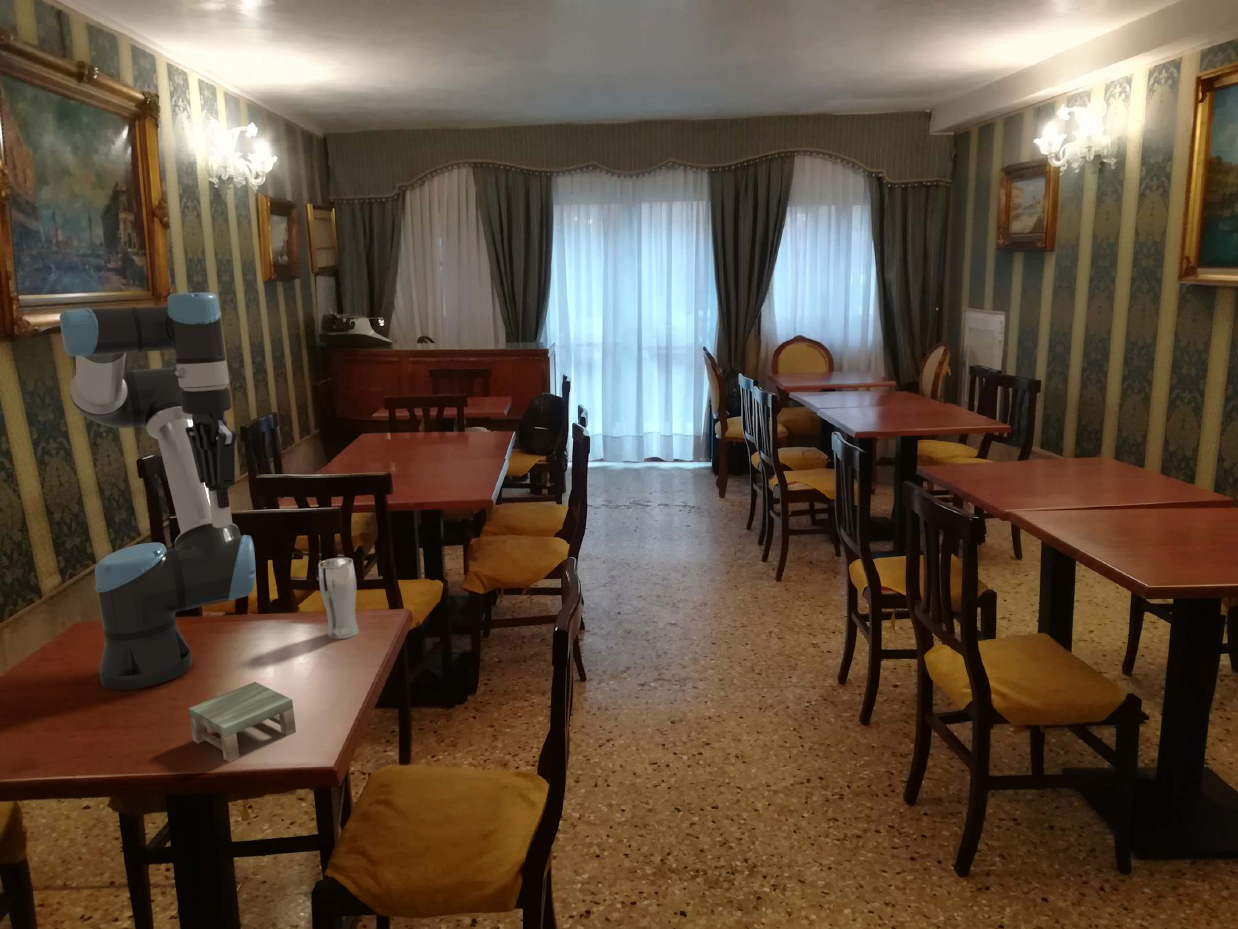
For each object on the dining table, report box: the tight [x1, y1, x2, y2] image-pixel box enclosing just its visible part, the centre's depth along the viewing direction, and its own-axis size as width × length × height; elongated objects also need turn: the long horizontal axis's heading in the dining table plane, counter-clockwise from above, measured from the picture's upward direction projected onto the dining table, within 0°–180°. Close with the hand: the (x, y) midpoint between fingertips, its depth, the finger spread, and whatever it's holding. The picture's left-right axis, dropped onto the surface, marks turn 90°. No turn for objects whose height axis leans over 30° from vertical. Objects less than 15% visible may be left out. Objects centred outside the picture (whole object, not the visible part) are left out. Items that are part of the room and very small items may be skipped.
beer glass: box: [318, 557, 360, 640], centre depth 177 cm, size 7×7×15 cm
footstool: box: [188, 681, 297, 763], centre depth 138 cm, size 6×11×11 cm
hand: (222, 525), depth 151 cm, fingers closed
